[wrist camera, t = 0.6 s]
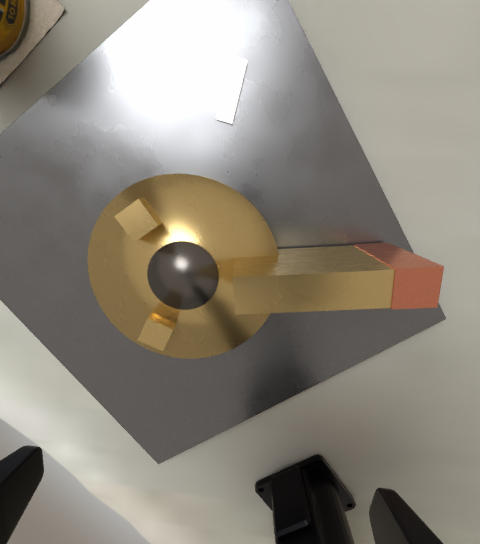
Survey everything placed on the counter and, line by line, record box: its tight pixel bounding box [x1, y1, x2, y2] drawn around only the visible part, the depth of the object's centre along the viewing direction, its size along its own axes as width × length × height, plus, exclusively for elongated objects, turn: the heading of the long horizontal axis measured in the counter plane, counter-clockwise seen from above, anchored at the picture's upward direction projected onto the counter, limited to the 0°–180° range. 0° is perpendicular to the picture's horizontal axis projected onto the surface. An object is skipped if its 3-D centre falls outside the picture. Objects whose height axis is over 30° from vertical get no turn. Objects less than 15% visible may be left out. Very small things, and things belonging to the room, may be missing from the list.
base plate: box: [0, 0, 446, 464], centre depth 18 cm, size 24×24×1 cm
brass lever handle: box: [87, 174, 444, 359], centre depth 15 cm, size 12×16×5 cm
